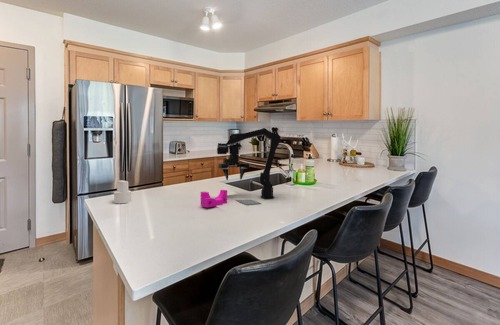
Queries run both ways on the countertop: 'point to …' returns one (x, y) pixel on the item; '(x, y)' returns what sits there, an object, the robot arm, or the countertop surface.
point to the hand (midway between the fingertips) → (234, 179)
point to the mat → (248, 202)
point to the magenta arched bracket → (213, 199)
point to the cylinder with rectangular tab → (122, 192)
